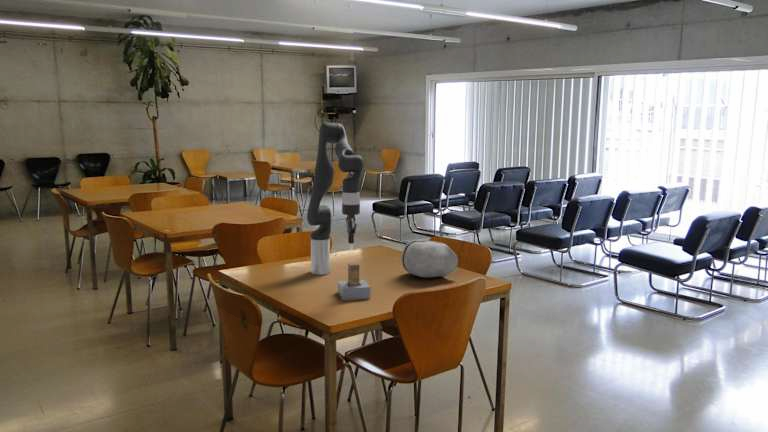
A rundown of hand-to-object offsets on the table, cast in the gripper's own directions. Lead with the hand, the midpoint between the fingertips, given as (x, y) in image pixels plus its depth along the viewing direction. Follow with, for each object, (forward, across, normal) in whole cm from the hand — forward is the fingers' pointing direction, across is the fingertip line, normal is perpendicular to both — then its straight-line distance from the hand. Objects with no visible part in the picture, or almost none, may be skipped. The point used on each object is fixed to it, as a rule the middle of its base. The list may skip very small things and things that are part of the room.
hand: (351, 243), depth 258 cm
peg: (+23, 0, -1) cm, 23 cm away
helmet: (+23, +26, -44) cm, 56 cm away
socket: (+23, 0, -1) cm, 23 cm away
